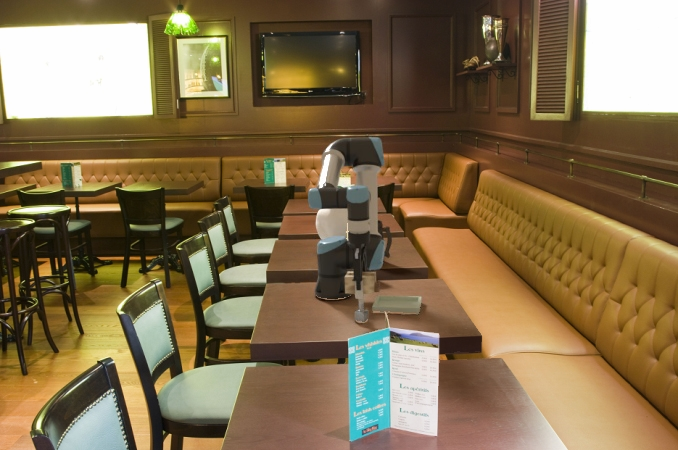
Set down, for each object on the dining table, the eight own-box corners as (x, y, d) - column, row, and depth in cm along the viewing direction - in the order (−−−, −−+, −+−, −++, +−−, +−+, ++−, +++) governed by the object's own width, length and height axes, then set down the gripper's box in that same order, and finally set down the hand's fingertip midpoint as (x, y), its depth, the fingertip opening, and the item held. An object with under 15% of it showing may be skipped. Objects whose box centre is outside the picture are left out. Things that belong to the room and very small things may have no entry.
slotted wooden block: (345, 293, 222) (344, 276, 220) (348, 287, 228) (347, 271, 226) (378, 294, 219) (377, 277, 218) (380, 288, 225) (380, 272, 224)
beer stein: (356, 264, 299) (358, 222, 294) (364, 258, 308) (365, 217, 304) (388, 268, 293) (390, 226, 288) (394, 262, 303) (396, 221, 298)
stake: (352, 323, 224) (351, 287, 221) (355, 318, 228) (353, 283, 226) (368, 324, 223) (367, 288, 220) (370, 319, 227) (369, 284, 225)
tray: (372, 313, 233) (372, 306, 233) (377, 301, 246) (377, 295, 245) (419, 314, 230) (418, 308, 229) (421, 303, 242) (421, 296, 242)
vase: (335, 239, 349) (333, 184, 343) (363, 245, 334) (361, 188, 327) (309, 245, 337) (307, 189, 331) (337, 252, 321) (334, 193, 315)
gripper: (365, 238, 209) (367, 304, 214) (373, 224, 227) (375, 286, 232) (342, 237, 210) (345, 304, 215) (353, 224, 229) (355, 285, 234)
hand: (361, 294), depth 224 cm, fingers closed on slotted wooden block, 6 cm apart
